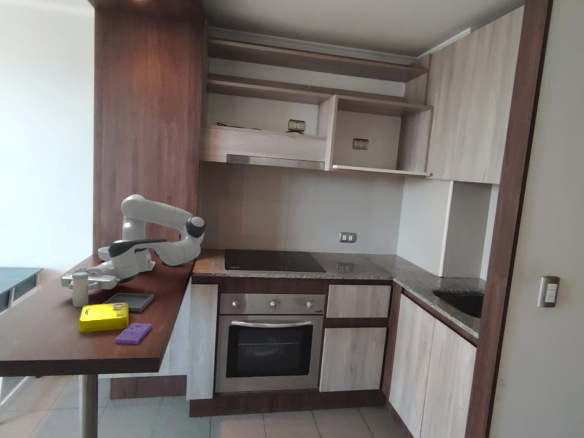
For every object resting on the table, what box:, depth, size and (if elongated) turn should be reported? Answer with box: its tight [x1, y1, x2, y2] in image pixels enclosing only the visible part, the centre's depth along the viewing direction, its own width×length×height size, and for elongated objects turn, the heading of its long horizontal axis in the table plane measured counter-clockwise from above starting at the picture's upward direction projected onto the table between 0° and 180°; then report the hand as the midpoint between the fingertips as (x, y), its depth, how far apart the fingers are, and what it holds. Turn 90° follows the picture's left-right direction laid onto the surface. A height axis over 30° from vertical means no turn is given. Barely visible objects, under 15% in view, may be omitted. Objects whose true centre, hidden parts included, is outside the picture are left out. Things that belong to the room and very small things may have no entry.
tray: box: [102, 292, 155, 313], centre depth 147 cm, size 15×15×2 cm
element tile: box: [78, 303, 130, 333], centre depth 130 cm, size 15×15×5 cm
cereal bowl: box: [97, 245, 111, 262], centre depth 207 cm, size 17×17×7 cm
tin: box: [72, 272, 89, 308], centre depth 143 cm, size 5×5×12 cm
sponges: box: [114, 322, 152, 345], centre depth 122 cm, size 7×13×2 cm, turn 1°
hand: (79, 287), depth 142 cm, fingers closed on tin, 5 cm apart
